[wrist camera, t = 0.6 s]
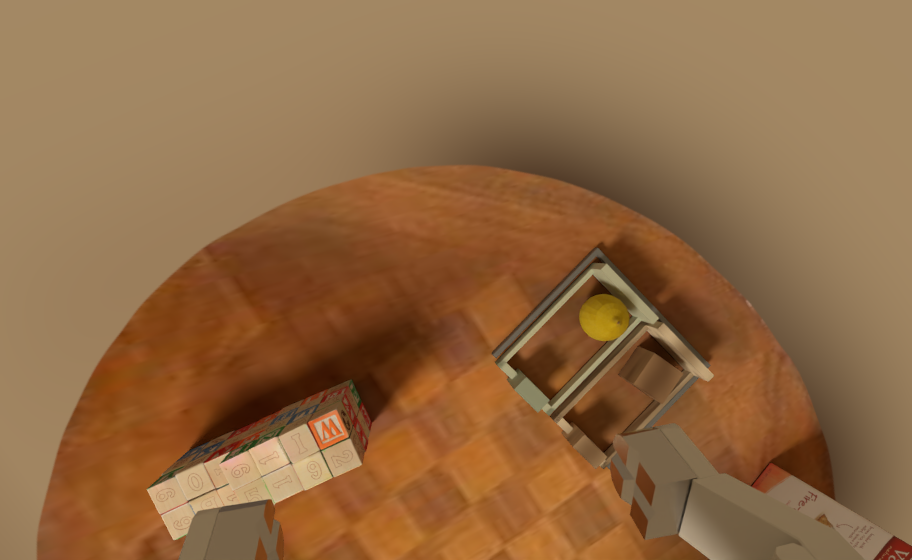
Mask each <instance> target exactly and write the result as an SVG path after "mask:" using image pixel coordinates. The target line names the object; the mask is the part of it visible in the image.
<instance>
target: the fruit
mask: <svg viewBox="0 0 912 560" xmlns="http://www.w3.org/2000/svg"><path fill="white" fill-rule="evenodd" d="M579 320H580V324H581V326H582V328H583V330H584V331H585V332H586V333H587V334H588V335H589V336H590V337H592V338H594V339H595V340H600V341H611V340H614V339H616V338H619V337H620V336H621V335H622V334H624V332H625V331H626V330H627V328H628V326H629V320H630V318H629V312H628V310H627V308H626V306H625V305H624V304H623V303H622V302H621V300H620V299H618V298H616V297H614V296H612V295H608V294H599V295H595V296H593V297H590V298H589V299H588V300H587V301H586V302H585V303H584V304H583V305H582V307H581V309H580V313H579Z"/></svg>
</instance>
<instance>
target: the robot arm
mask: <svg viewBox="0 0 912 560" xmlns="http://www.w3.org/2000/svg"><path fill="white" fill-rule="evenodd" d="M613 447H614V448H615V450H616V452H617V453H616V454H615V455H614V456H613V457H612V458H611V464H610V471H611V477H612V481H613V484H614V486H615V489H616V491H617V493H618V494H619V496H620V498H621V499H622V500H624V501H626V502H627V503H629V504H630V505H631V512H630V515H631V517H632V519H633V521H634V522H635V524H636V526H637V528H638V529H639V531H640V533H641V534H642V536H643V538H644V540H647V539H652V538H658V537H663V536H668V535H674V534H679V536H680V537H681V538H683V539H684V540H685V541H687V542H688V543H689V544H691V545H692V546H693V547H694V548H696V549H697V550H698V551H700V552H701V553H702V554H704V555H705V556H706V557H707V558H709V559H710V560H865V559H864V558H863V557H862V556H861V555H860V554H859V553H858V552H857V551H856V550H855V549H854V548H853V547H852V546H851V545H850V544H849V543H848V542H847V541H846V540H845V539H844V538H843V537H842V536H841V535H840V533H839V532H838V531H836V530H834V529H832V528H830V527H828V526H826V525H824V524H822V523H820V522H818V521H816V520H815V519H813V518H811V517H809V516H807V515H805V514H803V513H801V512H799V511H797V510H795V509H793V508H791V507H789V506H788V505H786V504H784V503H782V502H780V501H778V500H776V499H774V498H772V497H770V496H768V495H766V494H764V493H763V492H761V491H759V490H757V489H755V488H753V487H751V486H749V485H747V484H745V483H743V482H741V481H739V480H737V479H736V478H734V477H732V476H730V475H728V474H726V473H723V474H719V473H718V472H717V471H716V469H715V468H714V467H713V466H712V465H711V463H710V462H709V461H708V460H707V459H706V457H705V456H704V455H703V454H702V453H701V452H700V450H699V449H698V448H697V447H696V446H695V444H694V443H693V442H692V441H691V440H690V438H689V437H688V436H687V435H686V434H685V433H684V431H683V430H682V429H681V428H680V427H679V426H678V425H676V424H675V423H672V424H667V425H662V426H656V427H650V428H645V429H640V430H635V431H630V432H625V433H620V434H616V436H615V437H614V441H613ZM274 514H275V507H274V505H273V502H272V499H267V500H260V501H254V502H248V503H242V504H235V505H229V506H223V507H218V508H212V509H206V510H200V511H198V512H197V513H196V514H195V516H194V517H193V519H192V521H191V524H190V527H189V530H188V533H187V536H186V539H185V542H184V545H183V548H182V551H181V554H180V556H179V559H178V560H283V557H284V539H283V532H282V528H281V525H280V522H278V521H276V520H274Z"/></svg>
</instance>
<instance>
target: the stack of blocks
mask: <svg viewBox="0 0 912 560" xmlns="http://www.w3.org/2000/svg"><path fill="white" fill-rule="evenodd" d="M371 425H372V422H371V420H370V418H369V415H368V413H367V411H366V409H365V407H364V405H363V402H362V401H361V399H360V397H359V395H358V392H357V390H356V388H355V386H354V384H353V381H352V379H351V380H348V381H346V382H344V383H341V384H339V385H337V386H334V387H332V388H330V389H326V390H324V391H321V392H319V393H317V394H314V395H312V396H310V397H308V398H306V399H303V400H301V401H298V402H296V403H294V404H291V405H289V406H287V407H285V408H283V409H282V410H281V411H278V412H276V413H274V414H271V415H269V416H267V417H264V418H262V419H260V420H259V421H257V422H254V423H252V424H250V425H247V426H245V427H243V428H241V429H238V430H237V431H232V432H229V433H227V434H225V435H222V436H220V437H218V438H216V439H213V440H211V441H210V442H207V443H205V444H203V445H201V446H198V447H196V448H194V449H192V450H190V451H188V452H186V453H185V454H184V455H183V456H182V457H181V458H180V459H179V460H177V461H176V462H175V463H174V464H173V465H172V466H170V467H169V468H168V469H167V470H166V471H165V472H164V473H163V474H162V476H161V477H160V478H159V479H158V480H157V481H155V482H154V483H153V484H152V485H151V486H150V487H149V488H148V489H147V491H148V493H149V495H150V497H151V498H152V500H153V502H154V504H155V506H156V508H157V510H158V512H159V514H161V516H162V519H163V521H164V523H165V525H166V526H167V528H168V530H169V532H170V534H171V536H172V538H173V540H177V539H179V538H181V537H183V536H185V535H187V533H188V530H189V527H190V524H191V521H192V519H193V517H194V516H195V514H196V513H197V512H198V511H200V510H206V509H212V508H218V507H223V506H229V505H235V504H242V503H248V502H254V501H260V500H267V499H272V502H273V505H275V504H276V503H277V502H280V501H282V500H284V499H286V498H288V497H290V496H292V495H295V494H297V493H299V492H301V491H302V490H307V489H310V488H312V487H314V486H316V485H318V484H320V483H323V482H325V481H327V480H329V479H331V478H333V477H337V476H339V475H341V474H343V473H346V472H348V471H350V470H352V469H354V468H357V467H359V466H361V465H362V463H363V458H364V452H366V449H367V445H368V437H369V432H370V429H371Z"/></svg>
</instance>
